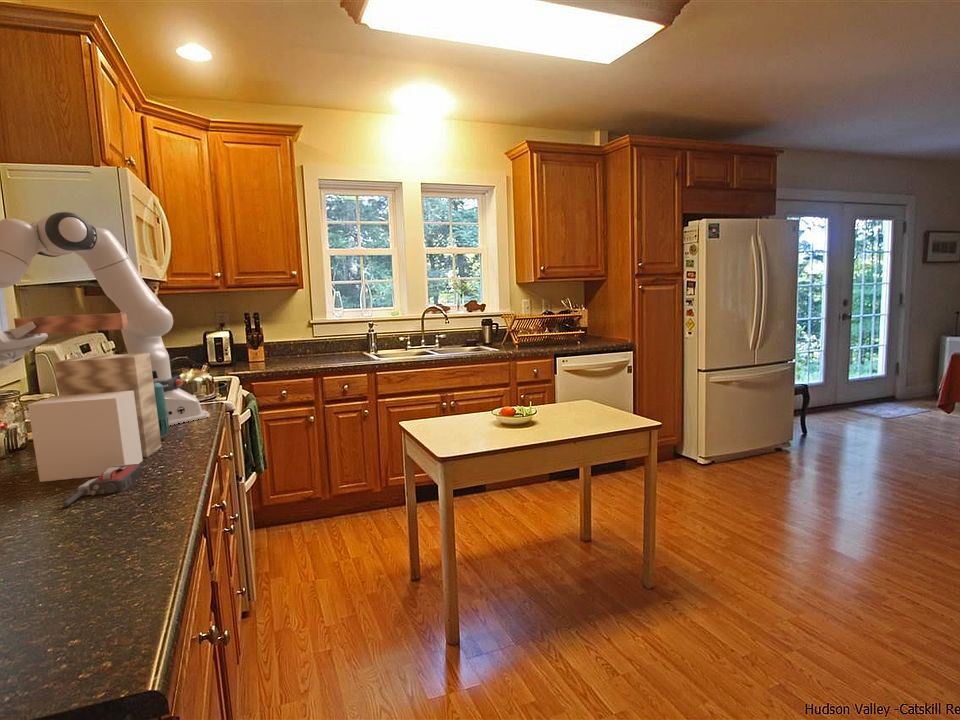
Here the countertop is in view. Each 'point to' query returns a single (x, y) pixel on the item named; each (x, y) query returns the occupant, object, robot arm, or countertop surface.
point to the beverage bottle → (161, 406)
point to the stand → (116, 387)
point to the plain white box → (84, 434)
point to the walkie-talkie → (109, 481)
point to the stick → (75, 323)
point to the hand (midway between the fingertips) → (40, 323)
